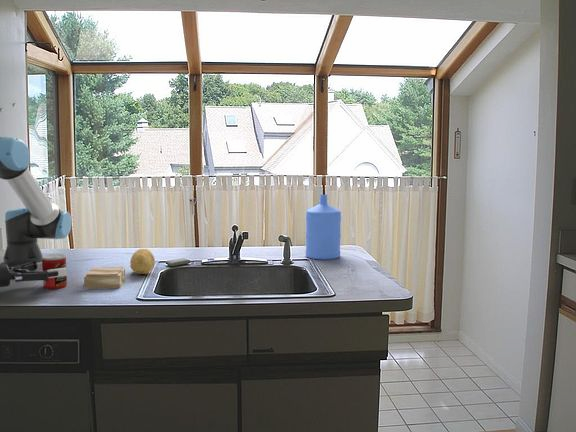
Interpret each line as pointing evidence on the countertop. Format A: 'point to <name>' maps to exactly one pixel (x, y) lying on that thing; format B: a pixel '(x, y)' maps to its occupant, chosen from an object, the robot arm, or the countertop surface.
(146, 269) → the potato
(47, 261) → the canned food
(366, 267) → the countertop surface
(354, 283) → the countertop surface
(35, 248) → the robot arm
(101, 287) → the plinth
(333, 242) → the water jug
